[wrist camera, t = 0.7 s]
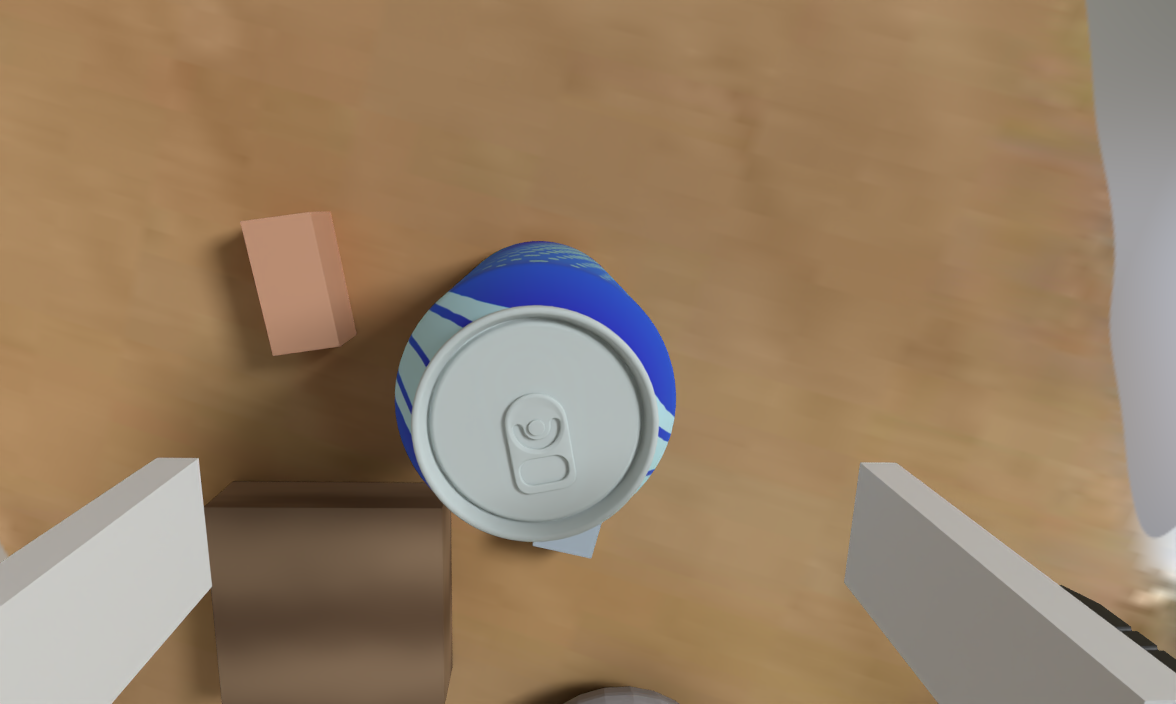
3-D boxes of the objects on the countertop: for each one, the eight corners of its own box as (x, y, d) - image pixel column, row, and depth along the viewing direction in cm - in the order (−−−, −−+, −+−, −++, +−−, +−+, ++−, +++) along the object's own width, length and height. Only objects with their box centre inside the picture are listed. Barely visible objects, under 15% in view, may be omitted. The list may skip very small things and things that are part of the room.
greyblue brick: (562, 414, 34) (563, 433, 31) (617, 427, 35) (623, 447, 32) (533, 518, 36) (532, 545, 33) (587, 529, 36) (591, 558, 33)
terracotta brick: (268, 220, 31) (240, 221, 28) (331, 211, 31) (310, 212, 29) (297, 342, 33) (272, 355, 30) (357, 334, 33) (339, 346, 30)
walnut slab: (232, 481, 34) (203, 507, 31) (450, 482, 35) (441, 508, 32) (248, 669, 36) (222, 710, 33) (452, 667, 37) (444, 706, 34)
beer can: (425, 355, 33) (318, 488, 17) (507, 207, 32) (471, 206, 16) (570, 433, 34) (592, 620, 19) (654, 293, 33) (752, 371, 18)
